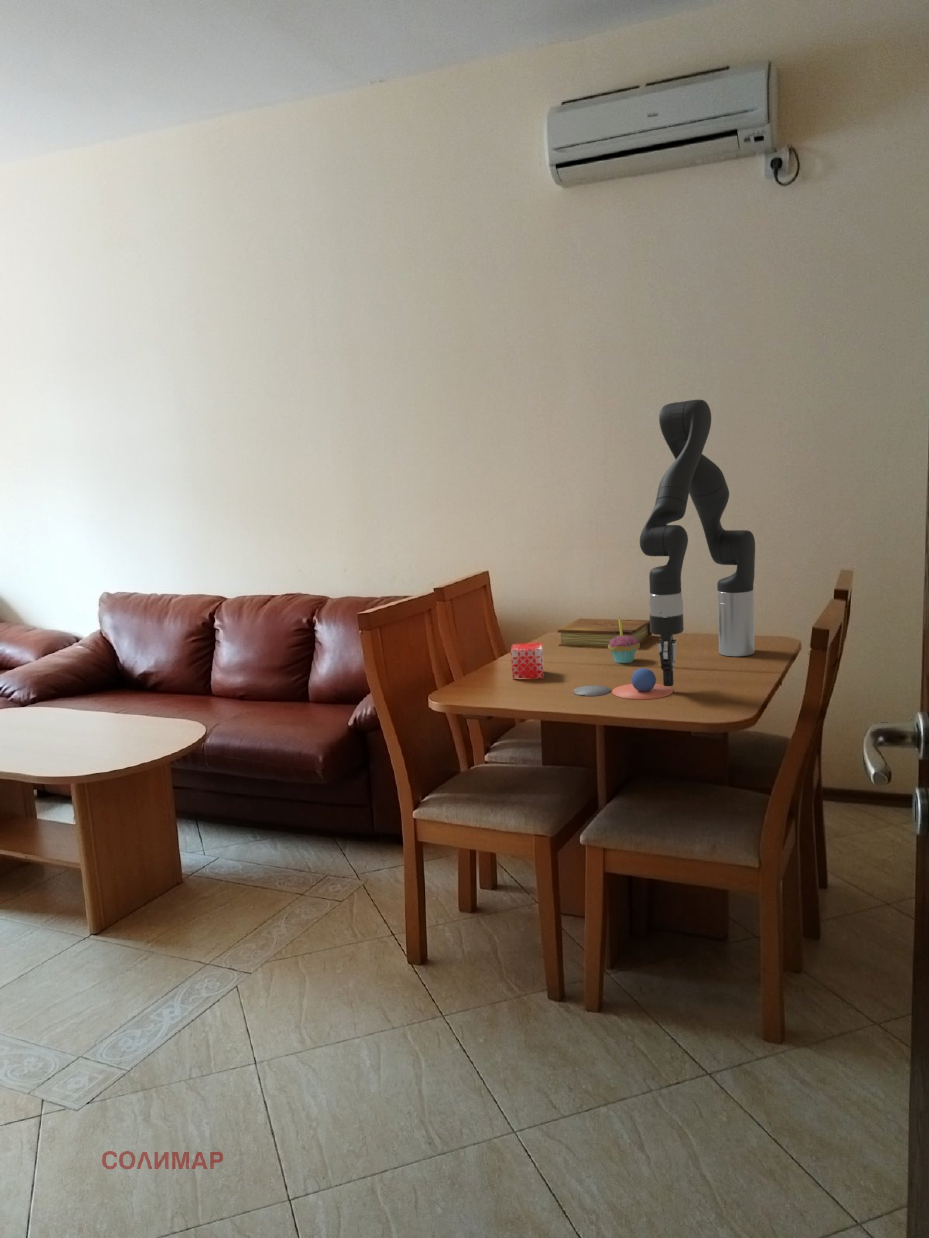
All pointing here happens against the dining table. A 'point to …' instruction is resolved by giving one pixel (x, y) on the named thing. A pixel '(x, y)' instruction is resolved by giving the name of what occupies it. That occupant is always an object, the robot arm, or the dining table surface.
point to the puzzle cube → (527, 660)
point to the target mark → (632, 693)
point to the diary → (602, 632)
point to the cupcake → (623, 647)
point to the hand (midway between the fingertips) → (668, 685)
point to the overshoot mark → (592, 690)
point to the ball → (643, 680)
